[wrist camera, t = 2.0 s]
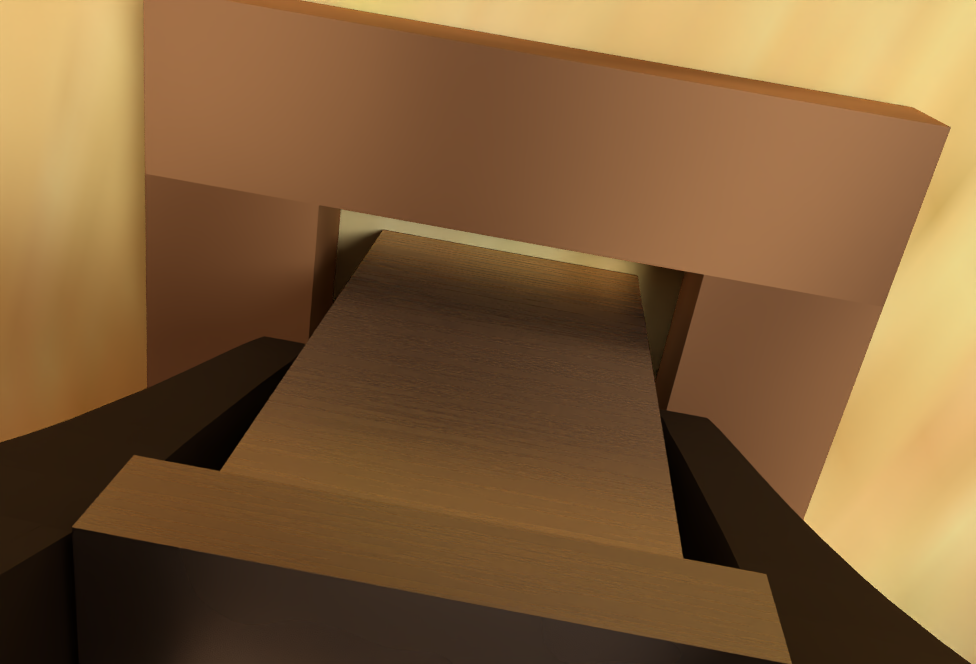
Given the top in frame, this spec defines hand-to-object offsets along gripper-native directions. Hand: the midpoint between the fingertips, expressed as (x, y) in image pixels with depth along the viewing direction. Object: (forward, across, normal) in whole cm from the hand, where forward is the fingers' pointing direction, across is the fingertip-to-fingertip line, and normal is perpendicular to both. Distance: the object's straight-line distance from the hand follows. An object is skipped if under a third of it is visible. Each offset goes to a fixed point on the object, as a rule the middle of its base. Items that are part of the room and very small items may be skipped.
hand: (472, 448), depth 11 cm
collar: (+2, 0, 0) cm, 2 cm away
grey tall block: (+2, 0, 0) cm, 2 cm away
